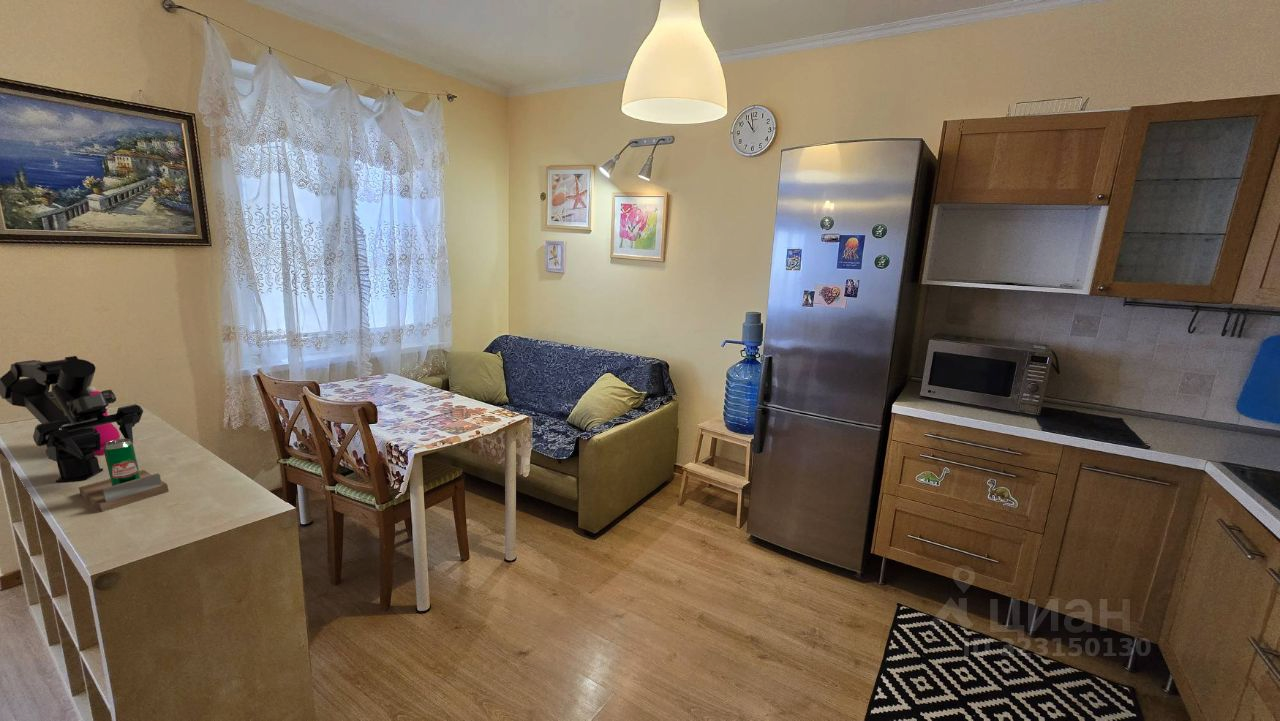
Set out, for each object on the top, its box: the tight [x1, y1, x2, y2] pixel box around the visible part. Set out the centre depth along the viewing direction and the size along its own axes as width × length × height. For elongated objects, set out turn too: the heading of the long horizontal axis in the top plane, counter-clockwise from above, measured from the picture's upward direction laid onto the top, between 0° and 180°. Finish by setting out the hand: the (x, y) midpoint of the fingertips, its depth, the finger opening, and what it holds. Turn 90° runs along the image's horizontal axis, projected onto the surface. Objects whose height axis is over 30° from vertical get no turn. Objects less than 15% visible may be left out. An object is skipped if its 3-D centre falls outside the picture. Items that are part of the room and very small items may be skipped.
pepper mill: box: [87, 386, 121, 456], centre depth 152 cm, size 7×7×20 cm
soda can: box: [104, 438, 140, 486], centre depth 125 cm, size 5×5×12 cm
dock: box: [78, 469, 170, 512], centre depth 128 cm, size 16×12×5 cm
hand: (107, 450), depth 127 cm, fingers open, 9 cm apart
